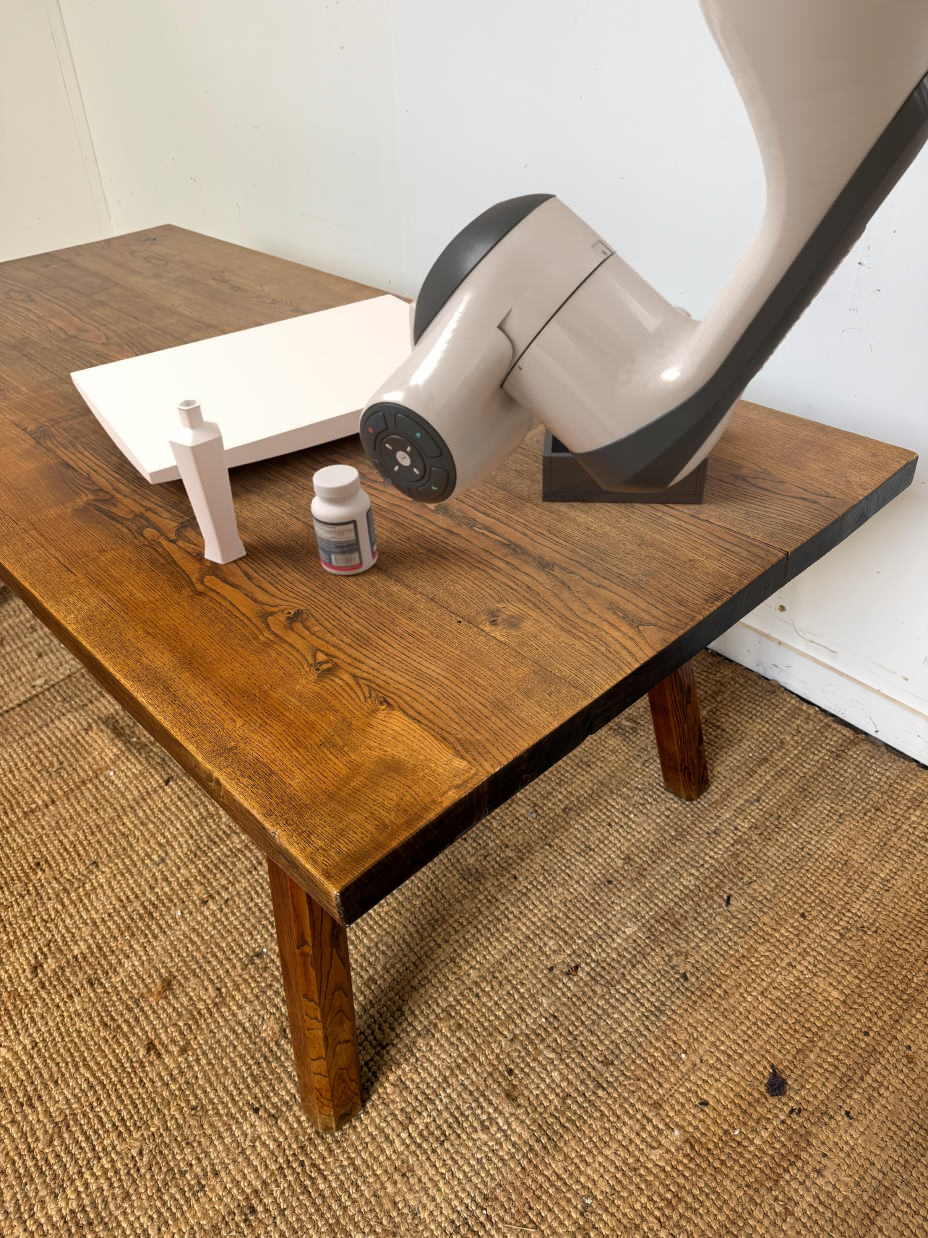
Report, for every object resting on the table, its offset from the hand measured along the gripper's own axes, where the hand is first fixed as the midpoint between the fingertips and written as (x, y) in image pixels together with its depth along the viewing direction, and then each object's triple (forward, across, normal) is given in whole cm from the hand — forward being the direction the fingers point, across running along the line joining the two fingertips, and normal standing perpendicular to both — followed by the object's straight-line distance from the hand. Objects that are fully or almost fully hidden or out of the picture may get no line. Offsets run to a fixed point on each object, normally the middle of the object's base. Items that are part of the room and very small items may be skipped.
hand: (587, 296), depth 72 cm
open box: (+12, 0, +21) cm, 24 cm away
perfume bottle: (-18, +28, +21) cm, 40 cm away
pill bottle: (-15, +17, +21) cm, 31 cm away
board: (+12, +42, +21) cm, 49 cm away
